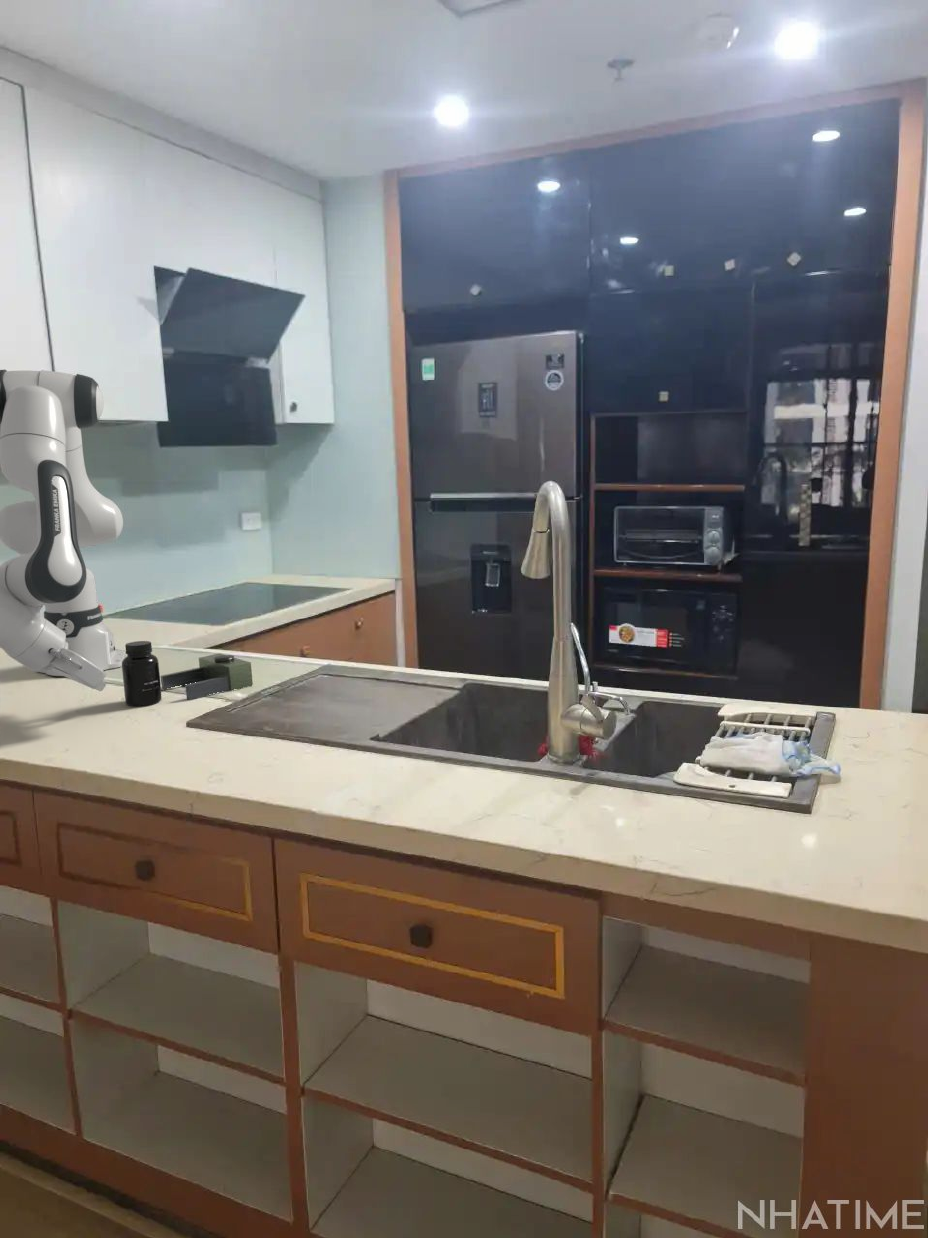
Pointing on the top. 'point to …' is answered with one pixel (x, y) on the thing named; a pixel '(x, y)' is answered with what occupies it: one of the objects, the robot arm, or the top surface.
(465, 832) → the top surface
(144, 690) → the supplement bottle
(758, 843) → the top surface
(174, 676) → the chute bracket
